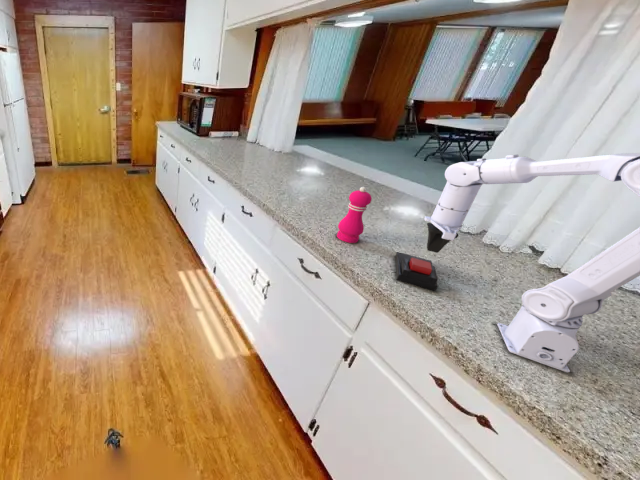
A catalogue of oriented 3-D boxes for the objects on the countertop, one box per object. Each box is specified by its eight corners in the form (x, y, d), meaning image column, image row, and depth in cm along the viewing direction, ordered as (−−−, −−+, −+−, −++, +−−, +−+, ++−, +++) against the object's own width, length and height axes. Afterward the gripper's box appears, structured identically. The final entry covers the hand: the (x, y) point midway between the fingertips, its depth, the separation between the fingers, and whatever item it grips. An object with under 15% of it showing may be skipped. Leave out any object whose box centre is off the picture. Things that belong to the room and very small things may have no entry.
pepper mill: (333, 238, 105) (348, 187, 97) (337, 231, 110) (352, 181, 102) (357, 246, 100) (376, 193, 92) (361, 237, 105) (378, 186, 97)
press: (434, 291, 80) (440, 280, 78) (396, 280, 85) (401, 268, 83) (428, 266, 90) (434, 255, 88) (394, 256, 95) (399, 246, 93)
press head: (429, 275, 81) (432, 269, 80) (409, 270, 83) (412, 264, 82) (427, 268, 84) (430, 262, 83) (408, 263, 86) (411, 257, 85)
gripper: (428, 193, 83) (410, 234, 88) (435, 212, 72) (415, 258, 78) (463, 199, 79) (443, 242, 84) (477, 221, 68) (452, 268, 74)
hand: (432, 250), depth 81 cm, fingers closed
